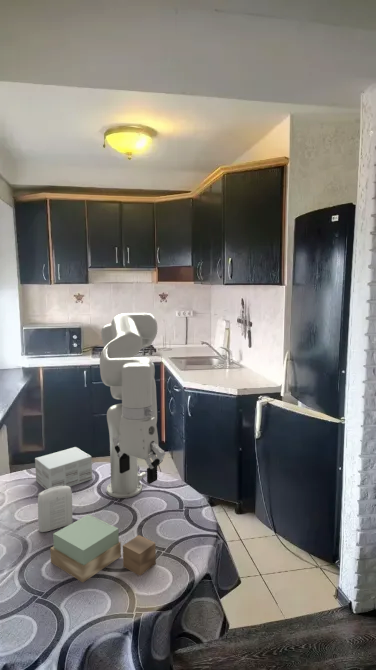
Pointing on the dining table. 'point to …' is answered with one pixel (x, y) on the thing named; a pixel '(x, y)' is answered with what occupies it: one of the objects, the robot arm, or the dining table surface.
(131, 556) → the walnut cube
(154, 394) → the robot arm
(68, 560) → the maple base block
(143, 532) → the dining table surface
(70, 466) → the supplement box
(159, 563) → the dining table surface
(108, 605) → the dining table surface
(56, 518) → the photo printer
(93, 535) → the sage top block
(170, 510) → the dining table surface
